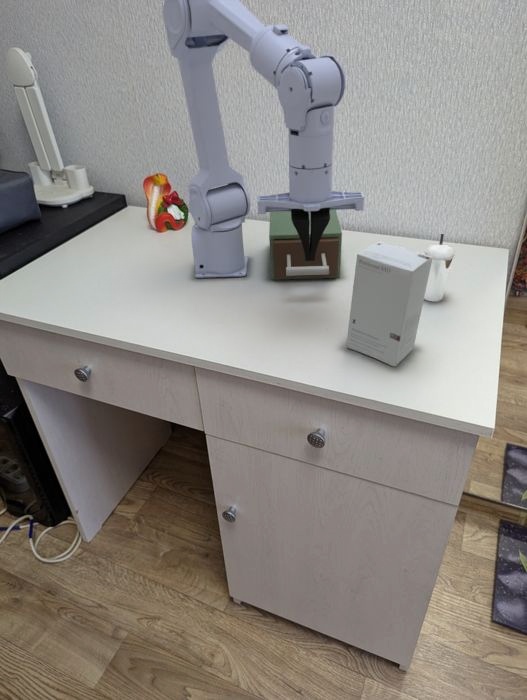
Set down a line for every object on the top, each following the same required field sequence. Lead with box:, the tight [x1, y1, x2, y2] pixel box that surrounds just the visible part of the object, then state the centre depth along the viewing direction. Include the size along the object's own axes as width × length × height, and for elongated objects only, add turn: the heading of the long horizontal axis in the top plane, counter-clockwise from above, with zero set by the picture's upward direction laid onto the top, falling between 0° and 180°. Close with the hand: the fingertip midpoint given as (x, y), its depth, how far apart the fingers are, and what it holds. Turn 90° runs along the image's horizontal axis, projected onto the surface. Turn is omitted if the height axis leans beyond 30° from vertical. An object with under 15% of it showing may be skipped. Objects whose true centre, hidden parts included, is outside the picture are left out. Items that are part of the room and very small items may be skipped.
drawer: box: [273, 237, 339, 278], centre depth 90 cm, size 20×11×7 cm, turn 179°
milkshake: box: [424, 232, 456, 303], centre depth 80 cm, size 4×5×10 cm
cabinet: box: [268, 210, 343, 281], centre depth 94 cm, size 15×13×9 cm
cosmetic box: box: [346, 240, 433, 367], centre depth 67 cm, size 8×6×15 cm
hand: (309, 258), depth 73 cm, fingers closed
